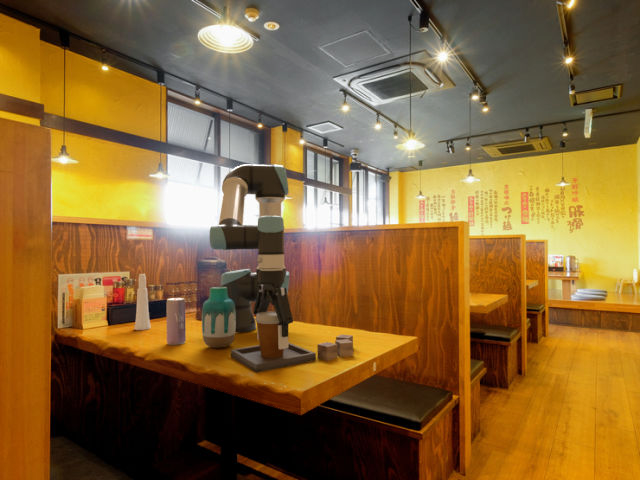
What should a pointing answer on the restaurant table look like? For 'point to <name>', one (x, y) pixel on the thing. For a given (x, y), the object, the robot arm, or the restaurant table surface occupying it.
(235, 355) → the tray
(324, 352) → the cube
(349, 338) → the cube
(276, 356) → the disposable coffee cup
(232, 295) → the robot arm
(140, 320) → the cosmetic bottle
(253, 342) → the restaurant table surface
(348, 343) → the cube
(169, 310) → the beverage can
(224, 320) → the vase
